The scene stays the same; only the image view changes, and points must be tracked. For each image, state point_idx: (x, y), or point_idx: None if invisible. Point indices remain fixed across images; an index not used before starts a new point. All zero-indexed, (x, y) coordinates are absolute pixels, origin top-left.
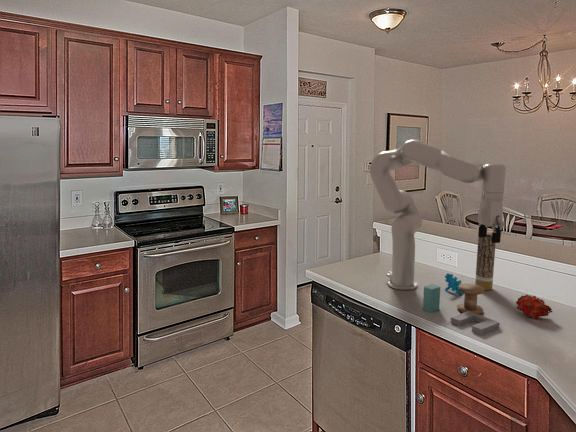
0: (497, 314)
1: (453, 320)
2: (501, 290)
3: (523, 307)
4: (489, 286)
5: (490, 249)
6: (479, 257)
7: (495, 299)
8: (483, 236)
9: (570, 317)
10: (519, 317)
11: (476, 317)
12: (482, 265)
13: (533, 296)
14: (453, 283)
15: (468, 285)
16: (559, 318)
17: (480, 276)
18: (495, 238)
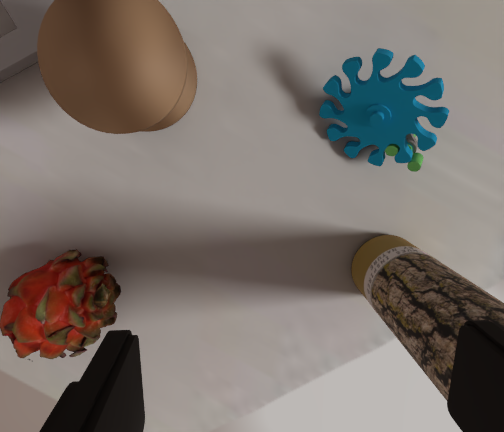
0: (98, 172)
1: None
2: (344, 319)
3: (48, 266)
4: (356, 279)
5: None
6: (465, 300)
7: (254, 247)
8: (454, 377)
9: None
10: (67, 240)
11: (8, 35)
12: (416, 290)
13: (44, 332)
14: (370, 100)
15: (153, 62)
16: (57, 366)
17: (391, 260)
18: (57, 404)
